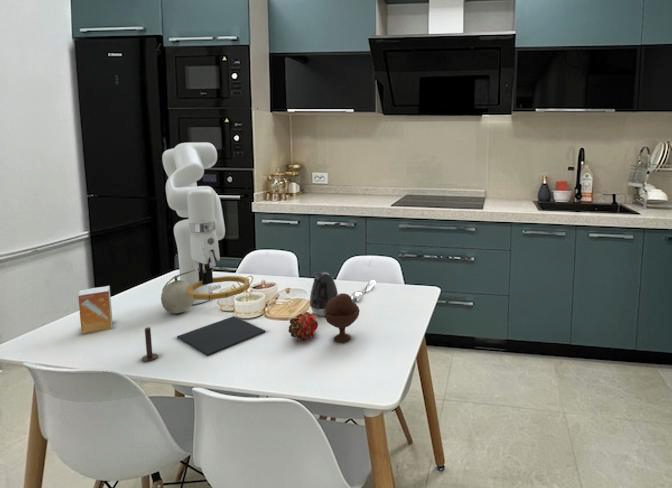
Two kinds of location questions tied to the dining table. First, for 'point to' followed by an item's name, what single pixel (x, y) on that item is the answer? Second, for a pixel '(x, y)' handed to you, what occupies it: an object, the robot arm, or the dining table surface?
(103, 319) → the small box
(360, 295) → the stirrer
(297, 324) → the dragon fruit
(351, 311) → the ice cream bowl
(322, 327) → the dining table surface
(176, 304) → the fruit
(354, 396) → the dining table surface
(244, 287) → the ring
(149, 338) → the post
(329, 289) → the dark grey tall dome
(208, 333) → the mat
